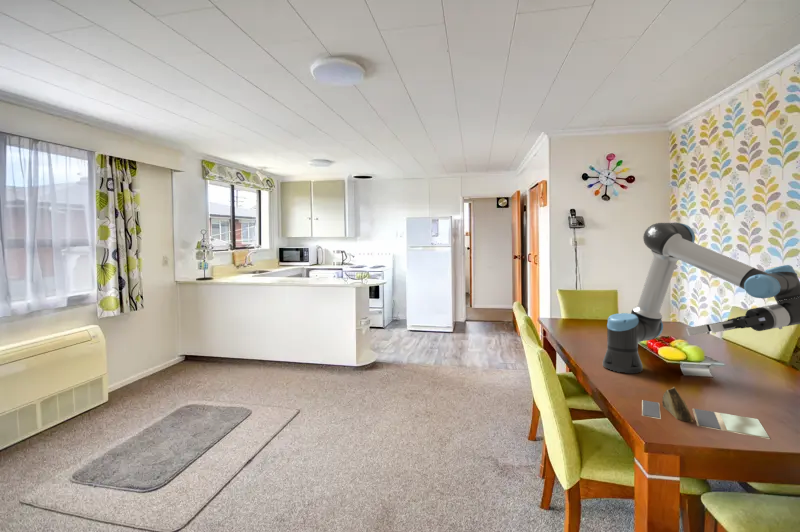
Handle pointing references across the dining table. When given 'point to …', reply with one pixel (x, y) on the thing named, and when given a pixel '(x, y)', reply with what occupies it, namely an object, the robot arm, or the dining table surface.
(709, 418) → the trap middle
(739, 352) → the dining table surface
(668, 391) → the rock
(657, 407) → the trap near
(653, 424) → the dining table surface
